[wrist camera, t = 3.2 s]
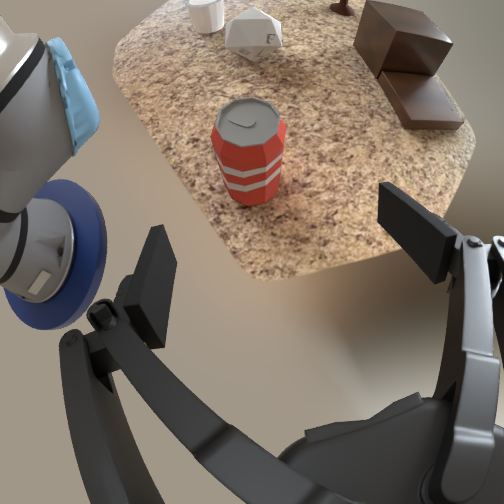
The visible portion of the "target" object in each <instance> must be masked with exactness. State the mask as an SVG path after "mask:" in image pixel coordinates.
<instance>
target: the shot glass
mask: <svg viewBox="0 0 504 504" xmlns="http://www.w3.org/2000/svg"><path fill="white" fill-rule="evenodd" d="M185 5H186V8H187V10H188V13H189V16H190V18H191V21H192V24H193V26H194V29H195V31H196V32H198V33H213V32H216V31H218V30H220V29H222V28H223V26H224V0H186V1H185Z"/></svg>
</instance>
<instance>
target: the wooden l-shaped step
mask: <svg viewBox="0 0 504 504" xmlns="http://www.w3.org/2000/svg"><path fill="white" fill-rule="evenodd" d="M452 45H453V43H452V42H451V40H450V39H449V38H448V37H447V36H446V35H445V34H444V33H443V32H442V31H441V30H440V28H439V27H438V26H437V25H435V23H434V22H433V21H432V20H430V18H429V17H428V16H427V15H426V14H424V13H423V12H422V11H418V10H414V9H410V8H406V7H402V6H398V5H393V4H388V3H383V2H377V1H370V0H366V2H365V6H364V9H363V13H362V16H361V20H360V23H359V27H358V30H357V34H356V37H355V41H354V44H353V46H354V47H355V48H356V50H357V51H358V53H359V54H360V55H361V57H362V58H363V60H364V61H365V63H366V64H367V66H368V67H369V69H370V70H371V72H372V73H373V75H374V76H375V78H376V79H378V83H379V84H380V86H381V87H382V89H383V91H384V92H385V94H386V96H387V98H388V99H389V101H390V103H391V105H392V106H393V108H394V110H395V112H396V114H397V116H398V117H399V119H400V121H401V123H402V125H403V127H404V129H447V130H457V129H458V128H459V127H460V126H461V125H462V124H463V123H464V121H463V119H462V117H461V116H460V114H459V112H458V111H457V109H456V107H455V106H454V104H453V102H452V101H451V99H450V97H449V96H448V94H447V93H446V91H445V90H444V88H443V87H442V85H441V84H440V82H439V81H438V79H437V78H436V77H433V76H434V75H435V73H436V71H437V70H438V68H439V67H440V65H441V63H442V62H443V60H444V59H445V57H446V55H447V54H448V52H449V50H450V49H451V47H452Z"/></svg>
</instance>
